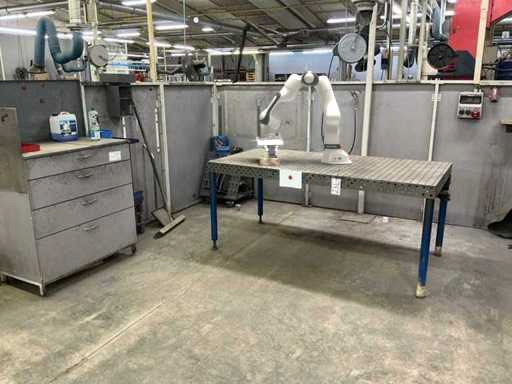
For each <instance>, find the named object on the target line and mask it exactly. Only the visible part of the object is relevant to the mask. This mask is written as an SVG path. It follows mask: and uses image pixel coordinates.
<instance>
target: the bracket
mask: <svg viewBox="0 0 512 384" xmlns="http://www.w3.org/2000/svg"><path fill="white" fill-rule="evenodd" d="M267 149H269V152H267V158H278V155H276V152H275V151H276V146H268V148H267Z"/></svg>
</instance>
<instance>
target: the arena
mask: <svg viewBox="0 0 512 384" xmlns="http://www.w3.org/2000/svg"><path fill="white" fill-rule="evenodd" d="M280 163H281V162H280V158H279V157H277V158H268V157H265V155H260V158H259V166H260V167H261V166H262V167H263V166H270V167H271V166H273V167H277V166H279V167H280Z"/></svg>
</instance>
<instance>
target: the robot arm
mask: <svg viewBox="0 0 512 384" xmlns="http://www.w3.org/2000/svg"><path fill="white" fill-rule="evenodd" d="M301 87H307V88H309V87H314V88H315V90H316V93H317V96H318V100H319V103H320V106H321V110H322V112H323V116H324V124H323V126H324V133H323V134H324V135H323V136H324V138H323V140H324V141H323V143H322V144H323V145H322V156H321V161H320V163H323V164H329V165H350V164H352V160H350V159H349V158H350V157H349V155H348V153H347V152H346V151H345V150H343V149H342V148H343V144H340V122H341V120H342V114H341V112H340V108H339V105H338V102H337V100H336V97H335V94H334V90H333V88H332V87H333V86H332V84H331V82H330V80H329V78H328V77H327V76H325V75H321V76H319V75H318V74H317V73H316V72H315V71H312V70H306V71H304V72H303V73H302V74H301V75H298V74H291V75H290V76H289V77H288V78H287V80H286V82H285V84H284V86H283V87H282V88H281V90H279V91H277V92H276V93H275V94H274V95H273V96H272V98H271V100H270V101H269V102H268V104H267V105H266V107H265V108H264V109H263V110H262V112H260V114H259V115H258V120H259V124H260V131H261V135H262V136H256V137H255V141H256V148H258V149H264V150H265V151H266V153H268V152H269V149H268V146H276V151H275V153H277V152H278V148H283V147H284V144H285V143H284V139H283V137H281V135H282V134H281V133H279V132H275V131H276V130H279V128H281V126H282V124H283V119H282V117H281V116H279V115H276V114H274V113H273V111H274V109H275V108H276V106H277V105H278V104H279V103H282V102H283V103H284V102H292V101H293V100H294V99H295V98H296V96H297V94H298V93H299V91H300V89H301Z"/></svg>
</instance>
